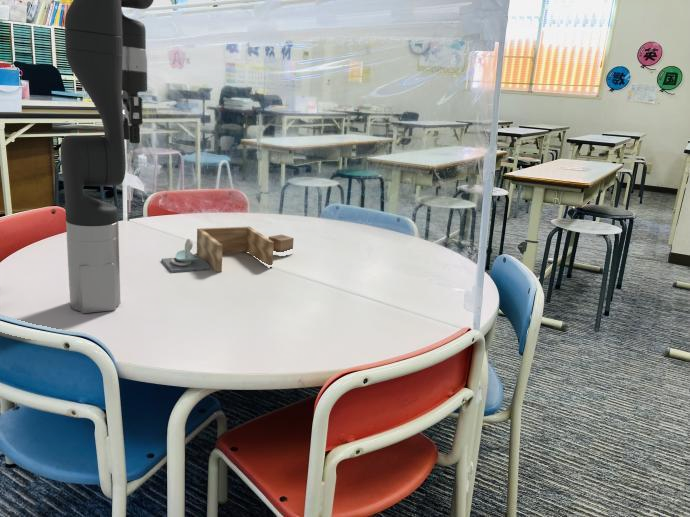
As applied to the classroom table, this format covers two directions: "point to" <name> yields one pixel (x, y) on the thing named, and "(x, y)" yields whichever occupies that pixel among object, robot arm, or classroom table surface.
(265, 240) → the cubby
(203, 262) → the pad
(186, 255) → the pacifier
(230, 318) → the classroom table surface
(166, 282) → the classroom table surface
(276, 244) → the walnut block
